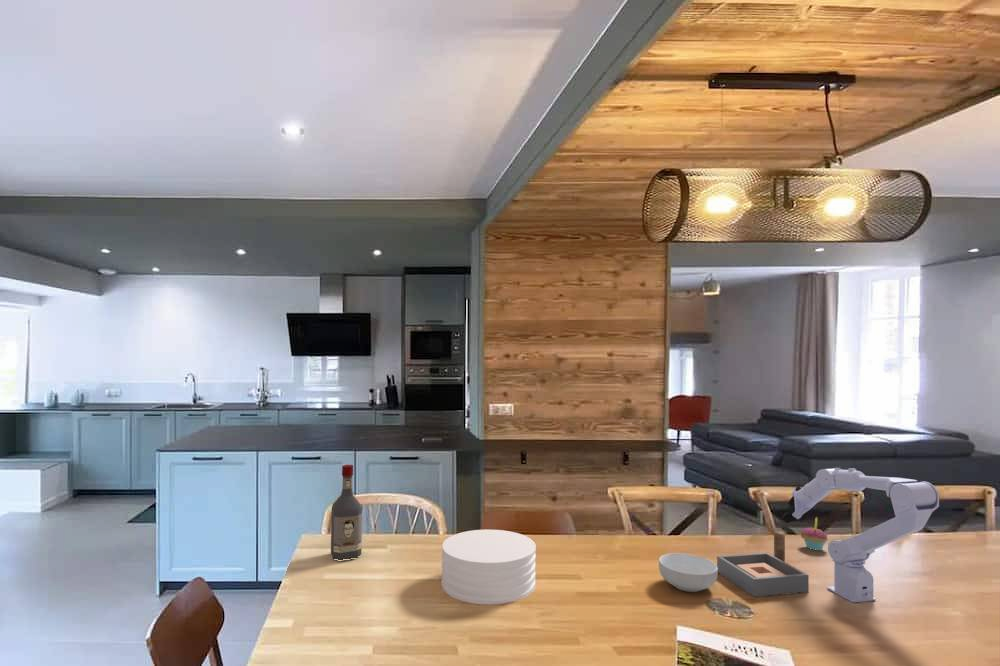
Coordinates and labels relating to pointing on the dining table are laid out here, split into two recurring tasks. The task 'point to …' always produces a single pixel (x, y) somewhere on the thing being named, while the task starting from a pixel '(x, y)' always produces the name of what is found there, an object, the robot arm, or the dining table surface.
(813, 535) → the cupcake
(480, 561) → the plate stack
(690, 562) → the cereal bowl
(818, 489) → the robot arm
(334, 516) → the liquor
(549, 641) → the dining table surface
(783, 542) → the peg
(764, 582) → the box
